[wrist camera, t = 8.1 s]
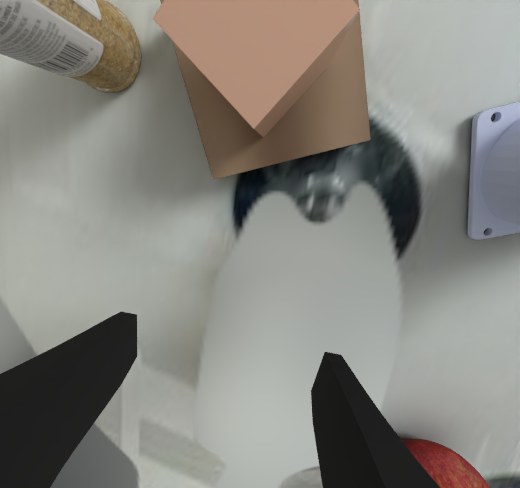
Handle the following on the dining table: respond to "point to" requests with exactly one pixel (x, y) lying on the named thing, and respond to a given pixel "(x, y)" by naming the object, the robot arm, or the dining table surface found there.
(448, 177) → the dining table surface
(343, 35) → the terracotta block
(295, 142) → the walnut box
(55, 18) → the sprinkles bottle
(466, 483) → the fruit
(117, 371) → the robot arm
